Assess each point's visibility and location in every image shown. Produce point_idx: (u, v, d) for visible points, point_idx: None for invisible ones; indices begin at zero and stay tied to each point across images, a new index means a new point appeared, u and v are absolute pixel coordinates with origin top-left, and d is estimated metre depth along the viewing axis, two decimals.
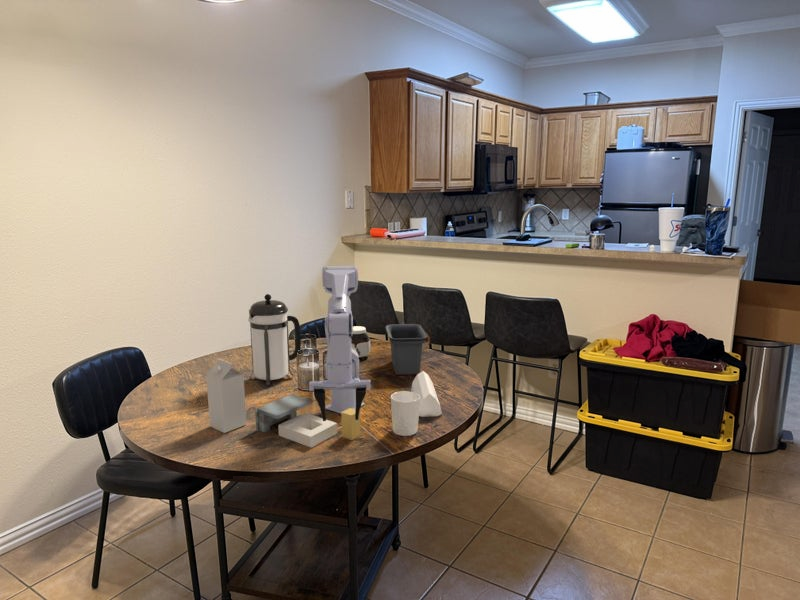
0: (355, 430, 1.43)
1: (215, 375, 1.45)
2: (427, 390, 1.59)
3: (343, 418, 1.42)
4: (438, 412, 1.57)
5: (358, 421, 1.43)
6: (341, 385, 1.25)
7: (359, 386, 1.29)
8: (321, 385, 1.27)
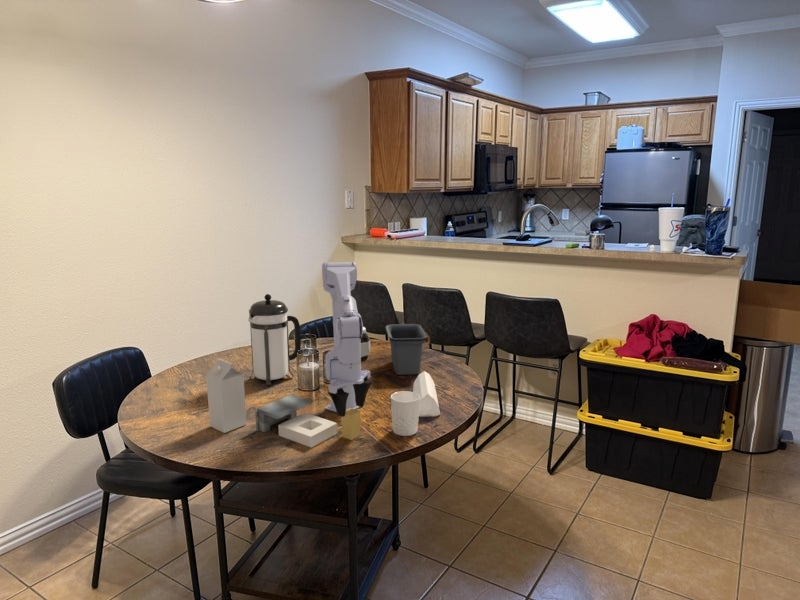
0: (355, 430, 1.43)
1: (215, 375, 1.45)
2: (426, 390, 1.59)
3: (343, 418, 1.42)
4: (436, 412, 1.56)
5: (358, 421, 1.43)
6: (362, 381, 1.39)
7: None
8: (344, 385, 1.37)
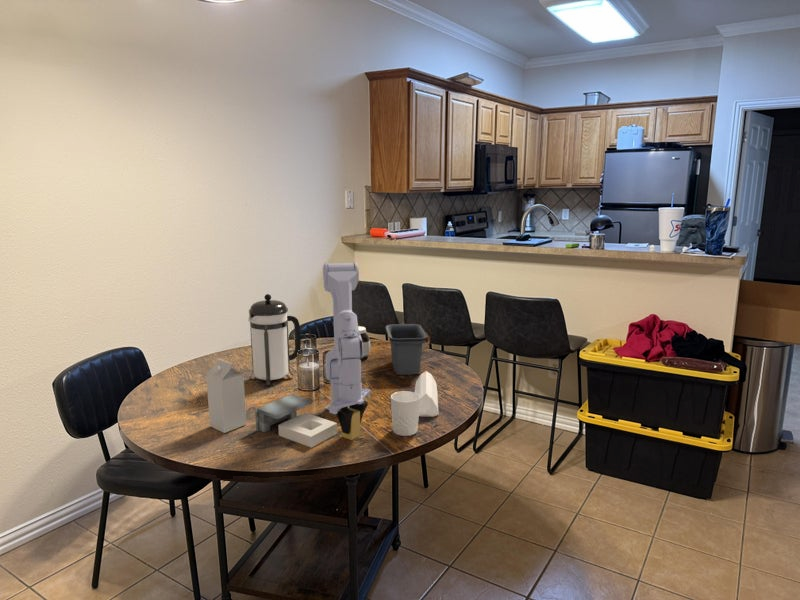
0: (355, 430, 1.43)
1: (215, 375, 1.45)
2: (425, 390, 1.59)
3: None
4: (434, 412, 1.56)
5: (358, 421, 1.43)
6: (363, 401, 1.40)
7: None
8: (344, 406, 1.38)
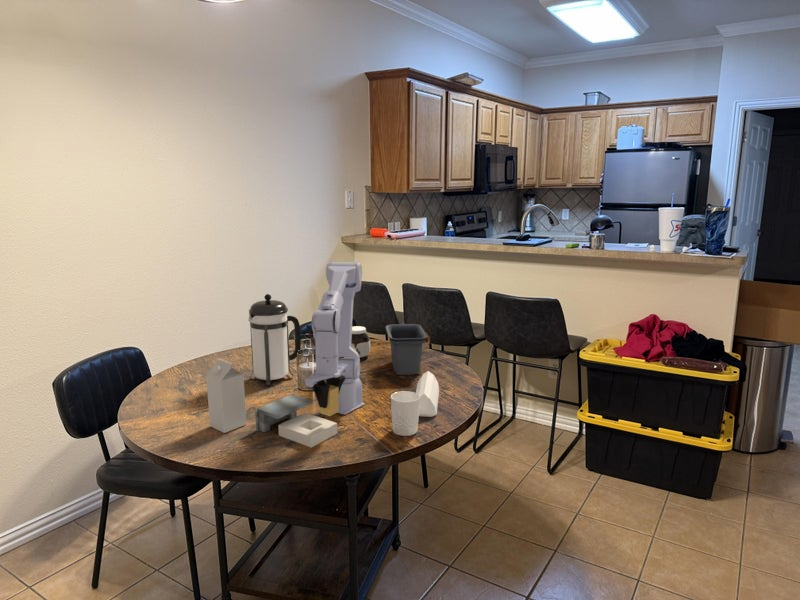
0: (333, 406, 1.41)
1: (215, 375, 1.45)
2: (423, 390, 1.59)
3: None
4: (432, 413, 1.56)
5: (336, 397, 1.42)
6: (339, 374, 1.39)
7: None
8: (320, 379, 1.37)
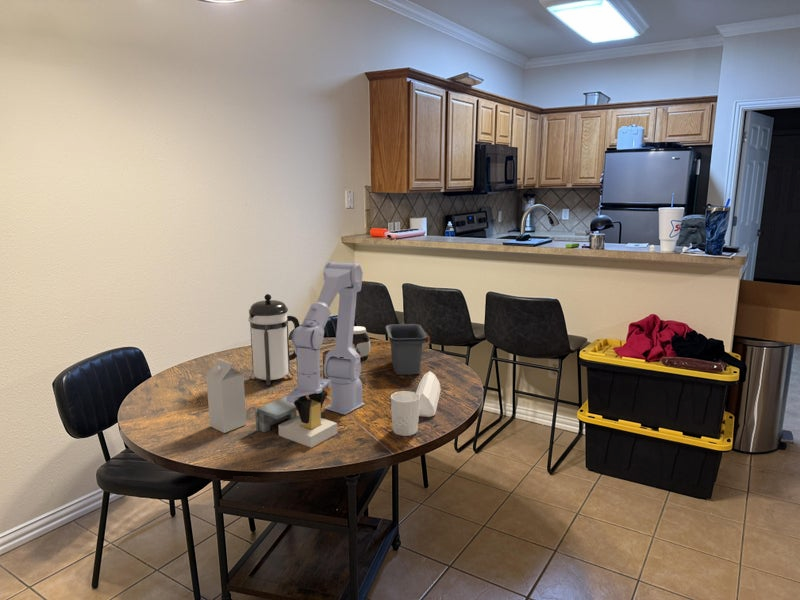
0: (315, 422, 1.42)
1: (215, 375, 1.45)
2: (422, 390, 1.59)
3: None
4: (431, 413, 1.56)
5: (318, 413, 1.43)
6: (321, 390, 1.40)
7: None
8: (301, 395, 1.38)
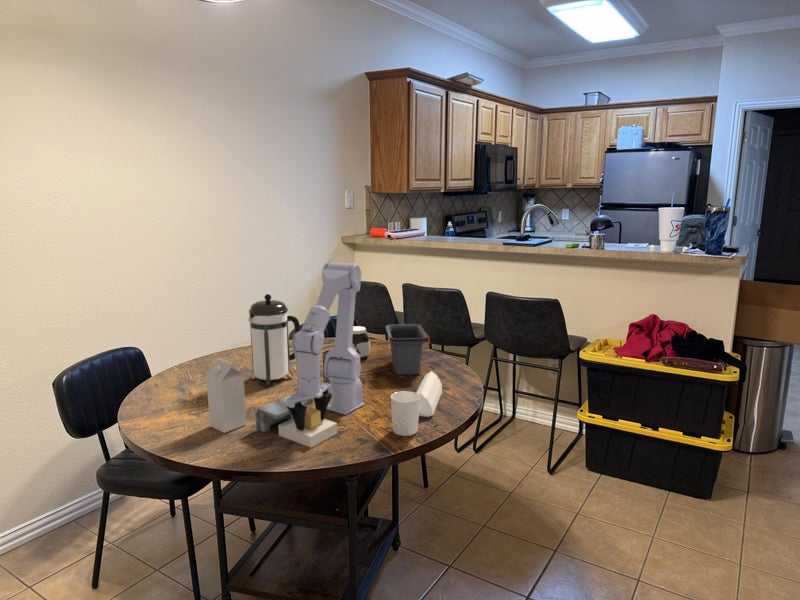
0: None
1: (215, 375, 1.45)
2: (421, 390, 1.59)
3: None
4: (429, 413, 1.56)
5: (318, 421, 1.44)
6: (321, 394, 1.40)
7: None
8: (302, 399, 1.38)
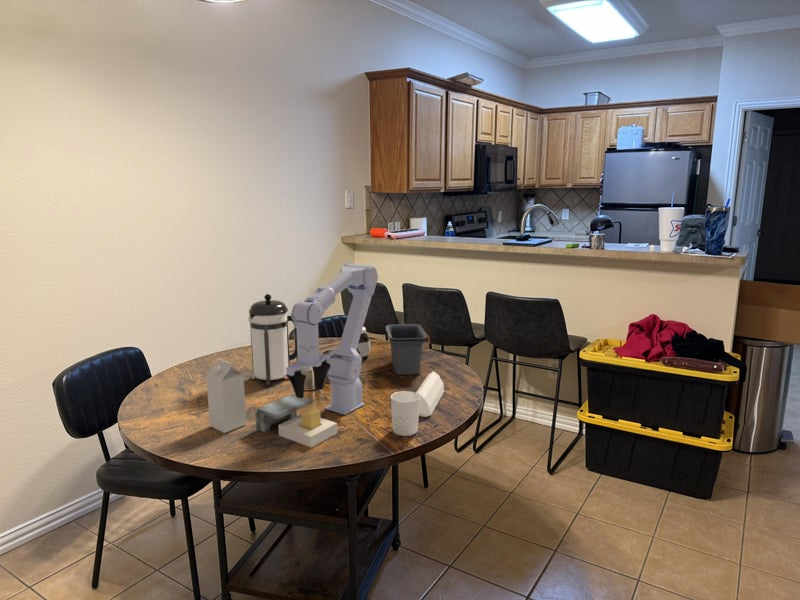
0: None
1: (215, 375, 1.45)
2: (420, 390, 1.59)
3: (304, 418, 1.43)
4: (426, 413, 1.56)
5: (318, 421, 1.44)
6: (320, 364, 1.44)
7: None
8: (301, 368, 1.42)
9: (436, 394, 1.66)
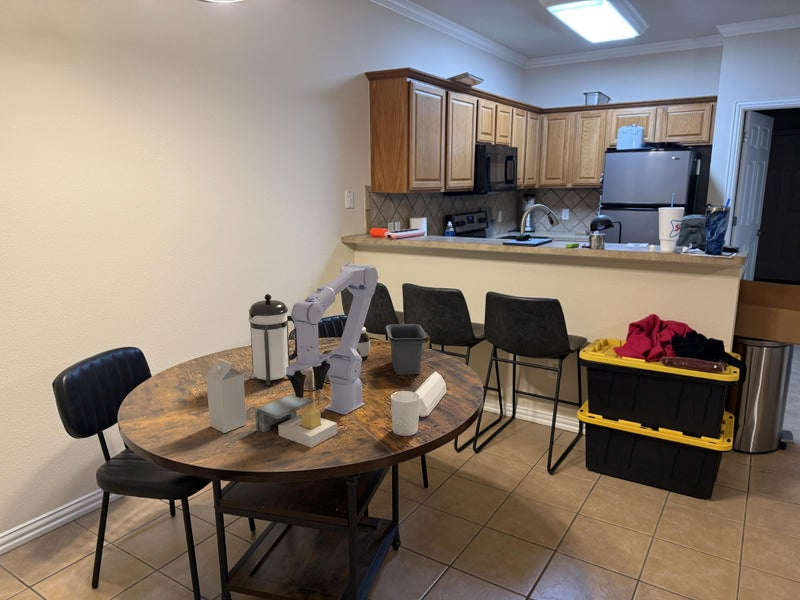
0: None
1: (215, 375, 1.45)
2: (418, 389, 1.59)
3: (304, 418, 1.43)
4: (424, 413, 1.56)
5: (318, 421, 1.44)
6: (320, 363, 1.44)
7: None
8: (301, 368, 1.42)
9: (436, 394, 1.65)
